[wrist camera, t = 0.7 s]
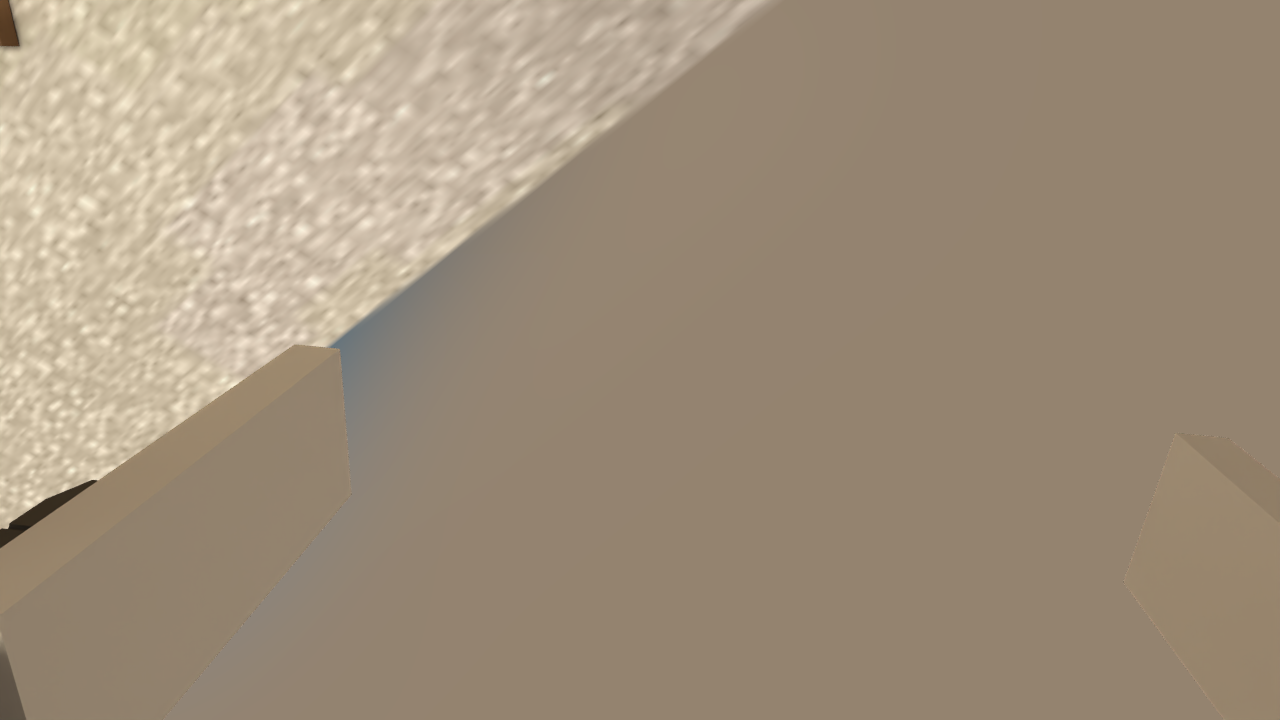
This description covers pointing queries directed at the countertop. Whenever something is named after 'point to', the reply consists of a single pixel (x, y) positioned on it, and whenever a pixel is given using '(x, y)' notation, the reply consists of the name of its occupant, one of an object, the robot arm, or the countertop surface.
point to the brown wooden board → (7, 26)
